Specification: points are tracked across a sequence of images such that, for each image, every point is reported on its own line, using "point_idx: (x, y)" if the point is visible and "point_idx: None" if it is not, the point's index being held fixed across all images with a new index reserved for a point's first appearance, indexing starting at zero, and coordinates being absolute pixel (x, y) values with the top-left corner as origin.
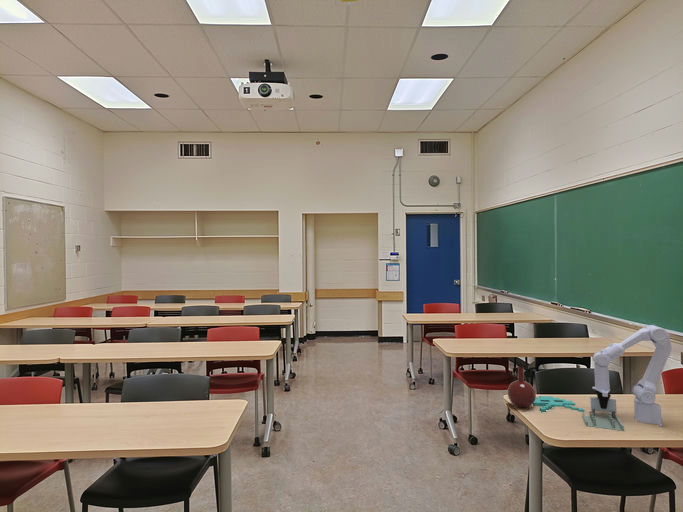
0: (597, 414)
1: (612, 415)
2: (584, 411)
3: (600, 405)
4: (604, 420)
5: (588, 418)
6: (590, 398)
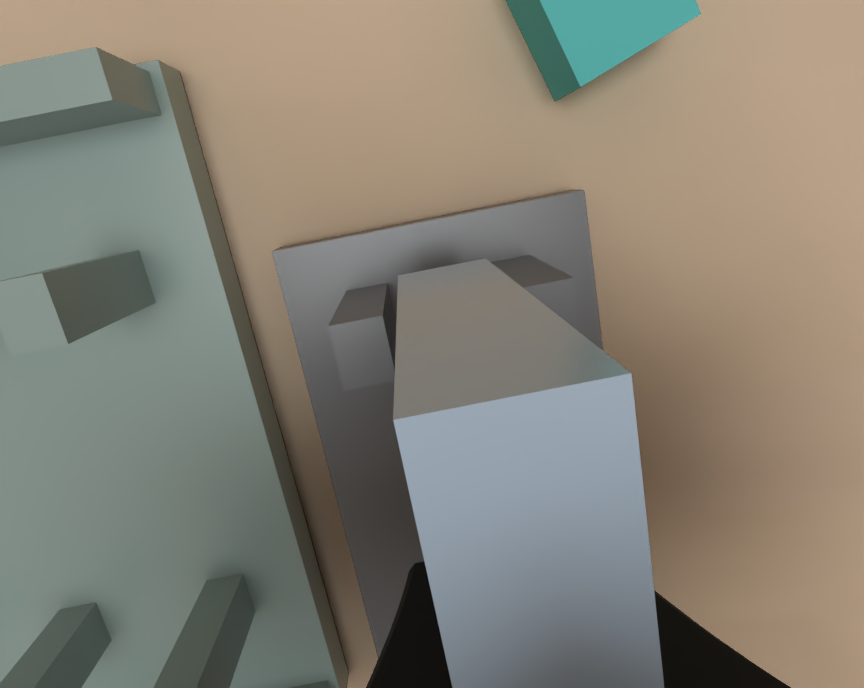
0: None
1: None
2: (566, 92)
3: (397, 616)
4: (137, 524)
5: (23, 224)
6: (478, 370)
